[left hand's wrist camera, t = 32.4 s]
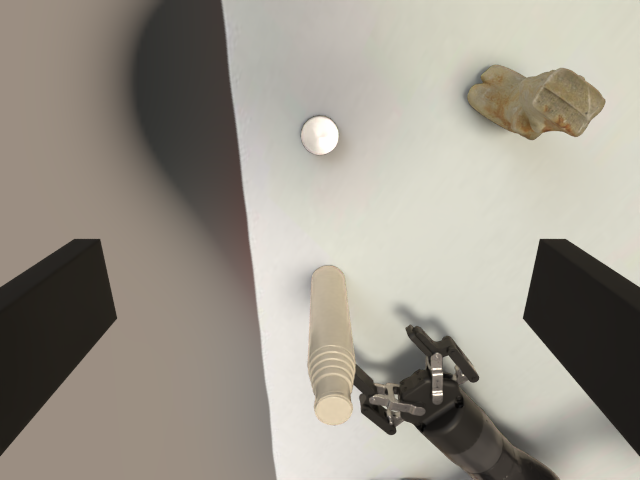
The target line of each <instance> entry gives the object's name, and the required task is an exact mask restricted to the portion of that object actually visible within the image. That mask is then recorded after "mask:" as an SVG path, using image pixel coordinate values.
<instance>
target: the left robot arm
mask: <svg viewBox="0 0 640 480" xmlns="http://www.w3.org/2000/svg"><path fill="white" fill-rule="evenodd" d="M116 319H117V316H116V311H115V306H114V302H113V297H112V292H111V288H110V283H109V278H108V274H107V269H106V264H105V260H104V255H103V250H102V246H101V241H100V239H74V240H72V241H71V242H69V243H68V244H66V245H64V246H63V247H61V248H60V249H58V250H57V251H55V252H54V253H52V254H51V255H49V256H48V257H46V258H45V259H43V260H41V261H40V262H38V263H37V264H35V265H34V266H32V267H31V268H29V269H28V270H26V271H25V272H23V273H22V274H20V275H18V276H17V277H15V278H14V279H12V280H11V281H9V282H8V283H6V284H5V285H3V286H2V287H0V456H1V455H2V454H3V452H4V451H5V450H6V449H7V448H8V446H9V445H10V444H11V443H12V442H13V441H14V439H15V438H16V437H17V436H18V435H19V434H20V432H21V431H22V430H23V429H24V428H25V426H26V425H27V424H28V423H29V422H30V421H31V419H32V418H33V417H34V416H35V415H36V413H37V412H38V411H39V410H40V409H41V408H42V406H43V405H44V404H45V403H46V402H47V400H48V399H49V398H50V397H51V396H52V394H53V393H54V392H55V391H56V390H57V389H58V387H59V386H60V385H61V384H62V383H63V382H64V380H65V379H66V378H67V377H68V376H69V374H70V373H71V372H72V371H73V370H74V369H75V367H76V366H77V365H78V364H79V363H80V361H81V360H82V359H83V358H84V357H85V356H86V354H87V353H88V352H89V351H90V350H91V349H92V347H93V346H94V345H95V344H96V343H97V341H98V340H99V339H100V338H101V337H102V336H103V334H104V333H105V332H106V331H107V330H108V328H109V327H110V326H111V325H112V324H113V323H114V321H115V320H116ZM523 319H524V320H525V321H526V323H527V324H528V325H529V326H530V327H531V328H532V330H533V331H534V332H535V333H536V334H537V336H538V337H539V338H540V339H541V340H542V341H543V343H544V344H545V345H546V346H547V347H548V349H549V350H550V351H551V352H552V353H553V354H554V356H555V357H556V358H557V359H558V360H559V362H560V363H561V364H562V365H563V366H564V367H565V369H566V370H567V371H568V372H569V373H570V374H571V376H572V377H573V378H574V379H575V380H576V382H577V383H578V384H579V385H580V386H581V387H582V389H583V390H584V391H585V392H586V393H587V395H588V396H589V397H590V398H591V399H592V400H593V402H594V403H595V404H596V405H597V406H598V408H599V409H600V410H601V411H602V412H603V413H604V415H605V416H606V417H607V418H608V419H609V421H610V422H611V423H612V424H613V425H614V426H615V428H616V429H617V430H618V431H619V432H620V434H621V435H622V436H623V437H624V438H625V439H626V441H627V442H628V443H629V444H630V445H631V446H632V448H633V449H634V450H635V451H636V452H637V454H638V455H639V456H640V287H638V286H637V285H635V284H634V283H632V282H631V281H629V280H628V279H626V278H625V277H623V276H622V275H620V274H618V273H617V272H615V271H614V270H612V269H611V268H609V267H608V266H606V265H605V264H603V263H602V262H600V261H599V260H597V259H595V258H594V257H592V256H591V255H589V254H588V253H586V252H585V251H583V250H582V249H580V248H579V247H577V246H576V245H574V244H572V243H571V242H569V241H568V240H566V239H540V241H539V246H538V250H537V255H536V260H535V264H534V269H533V274H532V278H531V283H530V288H529V292H528V297H527V302H526V306H525V311H524V316H523Z"/></svg>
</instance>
